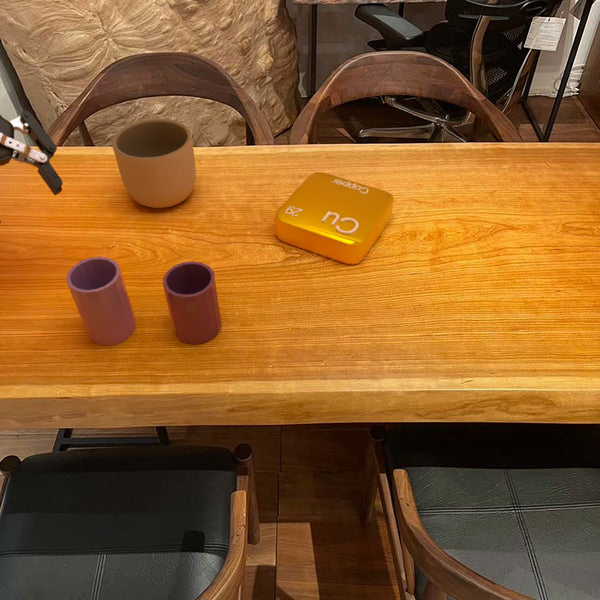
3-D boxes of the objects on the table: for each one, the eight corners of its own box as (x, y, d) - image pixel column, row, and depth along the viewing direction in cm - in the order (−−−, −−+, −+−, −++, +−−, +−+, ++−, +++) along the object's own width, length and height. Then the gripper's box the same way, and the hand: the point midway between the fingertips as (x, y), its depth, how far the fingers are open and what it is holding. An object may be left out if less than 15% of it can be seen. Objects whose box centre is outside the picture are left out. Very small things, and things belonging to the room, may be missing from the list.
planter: (149, 168, 107) (137, 112, 99) (211, 181, 104) (204, 125, 96) (112, 207, 98) (96, 150, 91) (178, 222, 95) (167, 165, 88)
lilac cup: (96, 352, 77) (75, 299, 69) (81, 322, 80) (60, 268, 73) (142, 333, 79) (127, 279, 72) (126, 304, 83) (109, 250, 76)
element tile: (394, 214, 97) (398, 190, 94) (357, 269, 88) (359, 244, 84) (314, 189, 102) (314, 166, 98) (270, 238, 93) (269, 214, 89)
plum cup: (185, 351, 77) (175, 303, 70) (166, 320, 80) (155, 273, 74) (229, 332, 79) (223, 284, 73) (208, 303, 83) (201, 255, 76)
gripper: (-119, 101, 63) (-22, 229, 67) (2, 56, 70) (84, 173, 74) (-115, 127, 69) (-27, 243, 73) (-4, 83, 77) (72, 190, 80)
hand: (29, 208), depth 73 cm, fingers open, 8 cm apart
